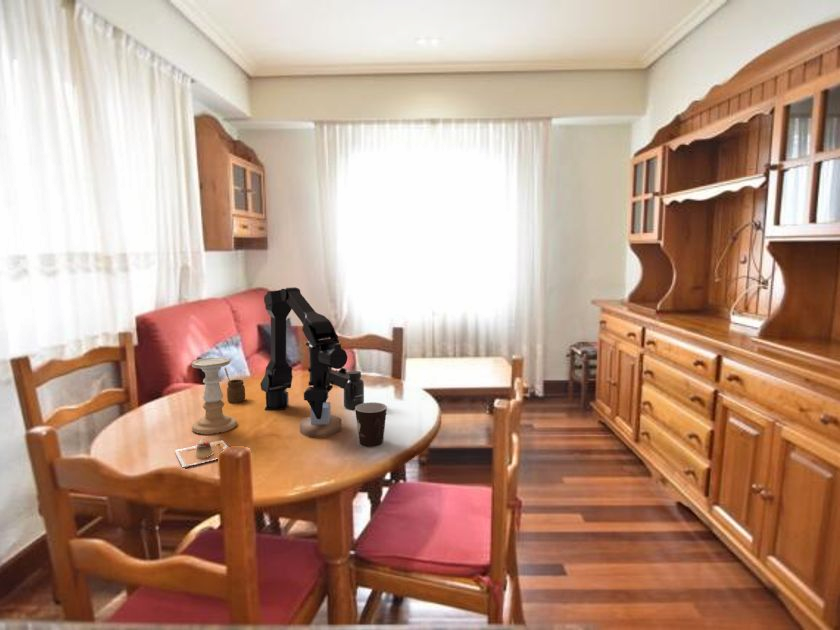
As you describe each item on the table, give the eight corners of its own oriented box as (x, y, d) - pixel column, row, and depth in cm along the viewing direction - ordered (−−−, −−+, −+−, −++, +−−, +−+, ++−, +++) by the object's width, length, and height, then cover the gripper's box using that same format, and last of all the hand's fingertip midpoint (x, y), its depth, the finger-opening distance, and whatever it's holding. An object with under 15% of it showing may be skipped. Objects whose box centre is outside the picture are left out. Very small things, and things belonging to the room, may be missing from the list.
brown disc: (296, 437, 133) (296, 429, 133) (304, 422, 145) (303, 415, 145) (339, 436, 134) (339, 428, 134) (343, 422, 146) (343, 414, 146)
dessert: (234, 459, 121) (233, 441, 120) (182, 471, 114) (181, 452, 113) (223, 443, 131) (222, 427, 130) (174, 454, 124) (173, 436, 123)
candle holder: (182, 431, 138) (177, 363, 136) (214, 417, 150) (211, 355, 147) (214, 437, 134) (211, 367, 131) (245, 423, 145) (242, 358, 143)
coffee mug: (358, 436, 135) (357, 402, 133) (388, 436, 134) (388, 402, 133) (351, 453, 123) (350, 416, 122) (384, 453, 123) (383, 416, 121)
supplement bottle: (360, 410, 157) (359, 375, 155) (340, 409, 158) (340, 374, 157) (366, 404, 164) (366, 370, 162) (347, 402, 165) (347, 369, 163)
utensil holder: (244, 402, 165) (243, 368, 164) (225, 403, 164) (223, 369, 162) (246, 397, 171) (244, 364, 169) (227, 398, 169) (226, 365, 168)
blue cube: (310, 424, 137) (310, 407, 136) (313, 418, 142) (313, 402, 141) (328, 424, 137) (328, 407, 136) (330, 418, 142) (330, 402, 141)
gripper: (344, 370, 128) (345, 425, 130) (350, 355, 147) (351, 404, 149) (302, 370, 128) (304, 426, 130) (313, 356, 146) (315, 405, 148)
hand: (320, 414), depth 139 cm, fingers open, 7 cm apart
